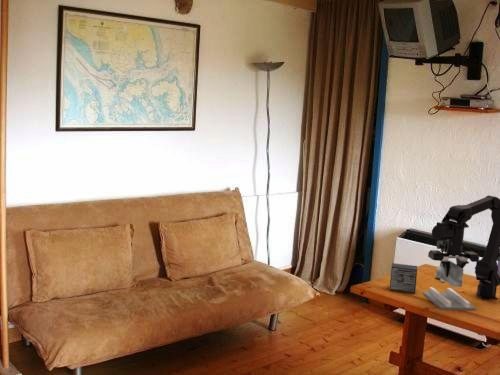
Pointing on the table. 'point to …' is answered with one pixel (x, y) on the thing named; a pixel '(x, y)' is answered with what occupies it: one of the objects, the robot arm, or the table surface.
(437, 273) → the reed diffuser
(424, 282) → the table surface
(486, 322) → the table surface
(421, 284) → the table surface
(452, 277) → the long grey rectangular beam
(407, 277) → the small box
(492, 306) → the table surface
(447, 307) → the sliding track
